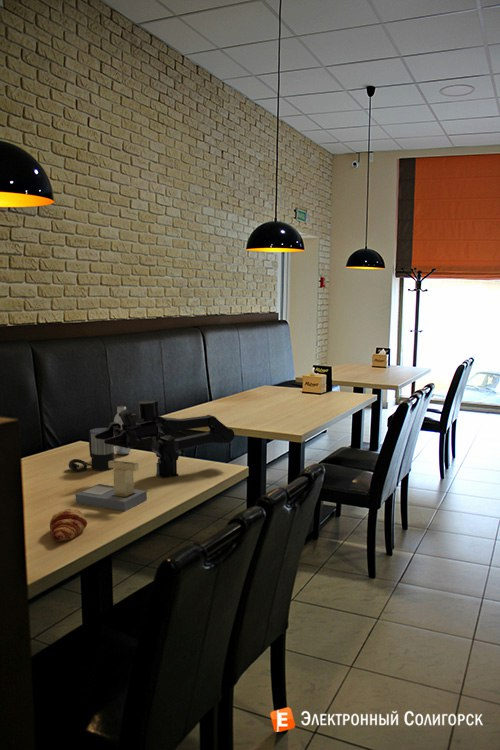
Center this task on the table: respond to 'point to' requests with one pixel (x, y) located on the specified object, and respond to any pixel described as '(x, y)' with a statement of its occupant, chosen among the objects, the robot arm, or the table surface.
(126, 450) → the plastic bottle
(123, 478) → the t key
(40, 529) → the table surface
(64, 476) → the table surface
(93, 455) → the milk frother
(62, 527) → the croissant
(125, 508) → the board
